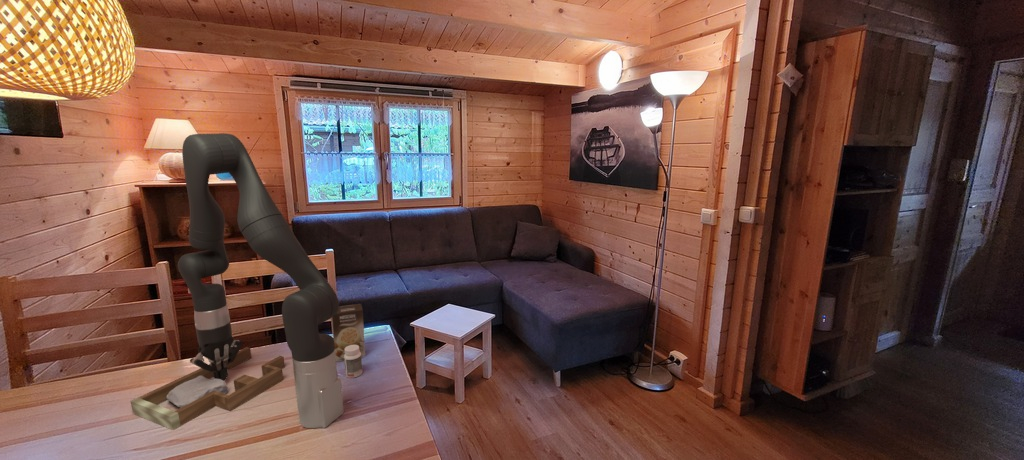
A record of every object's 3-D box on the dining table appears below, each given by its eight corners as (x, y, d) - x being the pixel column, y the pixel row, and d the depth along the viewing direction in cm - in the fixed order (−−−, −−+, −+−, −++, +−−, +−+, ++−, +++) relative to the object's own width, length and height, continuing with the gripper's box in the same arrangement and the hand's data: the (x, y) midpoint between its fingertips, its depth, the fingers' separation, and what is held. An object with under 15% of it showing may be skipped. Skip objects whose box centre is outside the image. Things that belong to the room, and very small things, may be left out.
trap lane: (298, 370, 117) (297, 360, 116) (188, 436, 90) (185, 422, 90) (248, 357, 125) (246, 346, 124) (132, 413, 98) (130, 401, 97)
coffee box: (334, 363, 122) (330, 314, 119) (334, 353, 127) (330, 307, 124) (366, 356, 126) (362, 309, 122) (364, 347, 131) (361, 302, 128)
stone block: (197, 420, 99) (233, 390, 107) (189, 405, 97) (226, 376, 106) (163, 412, 102) (201, 384, 111) (156, 398, 100) (194, 371, 109)
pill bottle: (366, 372, 117) (364, 346, 115) (352, 380, 113) (350, 353, 111) (356, 367, 119) (354, 342, 118) (342, 375, 115) (339, 348, 114)
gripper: (195, 335, 99) (205, 396, 102) (246, 315, 111) (253, 371, 115) (176, 330, 102) (186, 390, 105) (228, 311, 114) (236, 365, 117)
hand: (221, 380), depth 110 cm, fingers closed
